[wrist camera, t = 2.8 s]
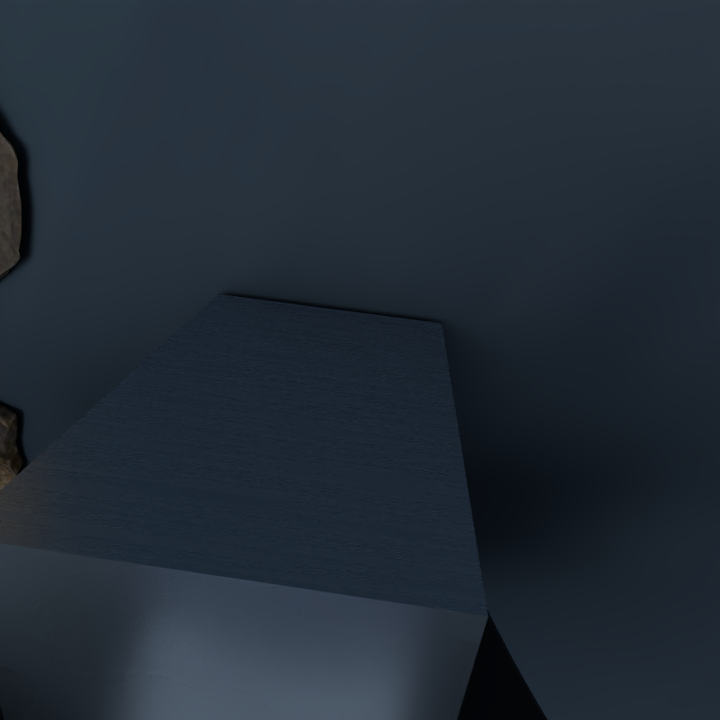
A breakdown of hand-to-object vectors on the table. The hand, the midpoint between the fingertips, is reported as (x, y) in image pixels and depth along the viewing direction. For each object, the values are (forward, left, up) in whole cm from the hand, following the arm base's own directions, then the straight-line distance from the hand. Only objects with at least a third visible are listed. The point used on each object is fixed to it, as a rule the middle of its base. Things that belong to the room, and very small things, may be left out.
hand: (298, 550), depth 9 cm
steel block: (0, 0, -2) cm, 2 cm away
